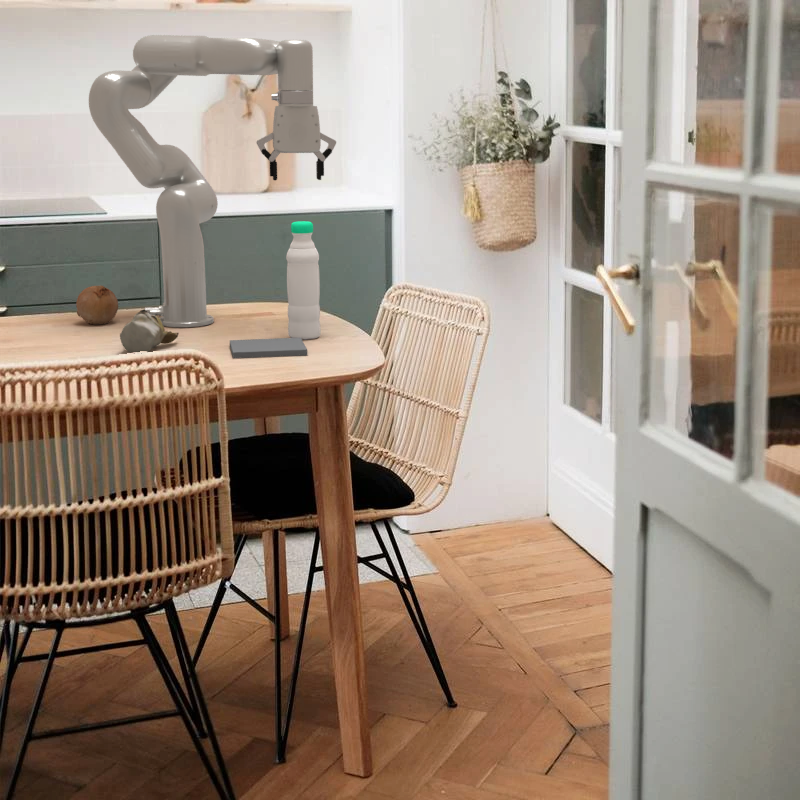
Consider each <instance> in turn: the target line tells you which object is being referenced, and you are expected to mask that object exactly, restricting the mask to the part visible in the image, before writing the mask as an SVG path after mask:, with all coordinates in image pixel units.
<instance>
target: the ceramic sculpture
mask: <svg viewBox="0 0 800 800" xmlns="http://www.w3.org/2000/svg"><path fill="white" fill-rule="evenodd" d="M159 318H160V317H159V316H158V315H156V316H155V315H150V314H149V313H148V312H147V311H146V310H145V309H141V310H140V311H138V312H136V313H135V314H134V316H133V318H132V319H131V321H129V322H127V323H126V324H125V325H124V327H123V328H122V330H121V332H120V333H119V337H120V338H119V339H120V342H121V346H122V347H123V349H124V350H125V351H126V352H129V353H131V352H140V351H148V352H150V351H151V350H152V349H154V348H156V347H157V346H159V345H160V344H165V345H167V344H170V343H173V342H174V341H175V340H176V339H177V338H178V337H179V332H172V331H171V330H170V331H168V330H166V329H165V326H163V325H162V322H161V320H160V319H159Z"/></svg>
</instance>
